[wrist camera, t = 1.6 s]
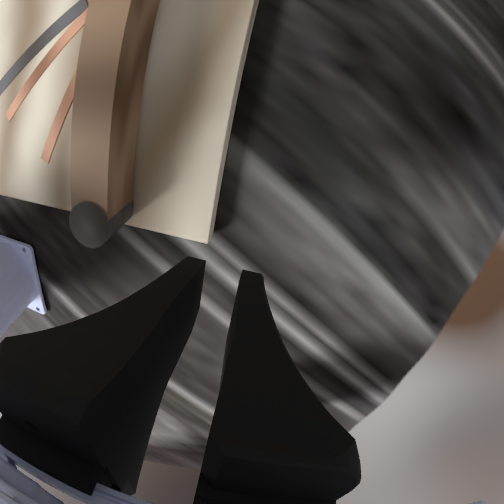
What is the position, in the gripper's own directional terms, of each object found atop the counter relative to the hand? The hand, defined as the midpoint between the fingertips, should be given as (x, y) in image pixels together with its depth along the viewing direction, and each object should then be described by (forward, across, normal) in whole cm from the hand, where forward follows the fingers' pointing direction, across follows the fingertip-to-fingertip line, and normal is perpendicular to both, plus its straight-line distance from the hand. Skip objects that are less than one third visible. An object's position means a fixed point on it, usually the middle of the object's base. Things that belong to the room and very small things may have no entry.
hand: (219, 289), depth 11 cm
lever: (+7, +8, -7) cm, 13 cm away
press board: (+9, +12, -7) cm, 17 cm away
